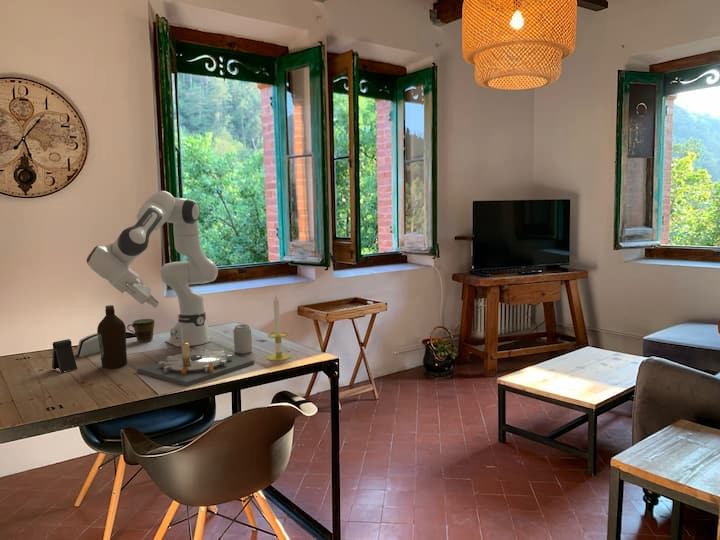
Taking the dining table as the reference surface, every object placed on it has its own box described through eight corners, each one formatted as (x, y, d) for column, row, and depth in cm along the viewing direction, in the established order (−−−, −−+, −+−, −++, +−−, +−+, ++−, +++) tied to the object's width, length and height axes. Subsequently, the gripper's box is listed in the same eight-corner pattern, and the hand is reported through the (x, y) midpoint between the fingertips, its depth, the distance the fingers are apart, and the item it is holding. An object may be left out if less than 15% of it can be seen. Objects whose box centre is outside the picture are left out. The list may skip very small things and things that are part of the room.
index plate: (137, 372, 215) (136, 358, 215) (204, 353, 241) (203, 341, 240) (186, 386, 196) (185, 371, 195) (254, 363, 221) (253, 350, 221)
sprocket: (145, 367, 215) (143, 339, 214) (203, 351, 237) (202, 326, 236) (187, 378, 199) (185, 348, 198) (245, 360, 221) (244, 333, 220)
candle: (294, 354, 233) (291, 292, 230) (285, 361, 224) (282, 296, 220) (273, 353, 236) (270, 292, 233) (263, 360, 226) (259, 295, 223)
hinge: (106, 347, 258) (109, 328, 255) (113, 351, 256) (116, 332, 253) (73, 356, 243) (76, 336, 240) (80, 360, 241) (83, 340, 238)
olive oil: (128, 360, 233) (123, 302, 230) (129, 367, 223) (124, 306, 220) (100, 364, 228) (95, 305, 225) (100, 371, 219) (94, 309, 216)
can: (254, 350, 243) (252, 323, 242) (249, 354, 236) (247, 327, 235) (237, 350, 244) (236, 323, 243) (232, 354, 237) (230, 327, 235)
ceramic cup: (150, 337, 275) (149, 317, 274) (159, 340, 268) (157, 320, 267) (124, 342, 266) (122, 322, 265) (132, 345, 259) (131, 325, 258)
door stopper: (77, 369, 222) (74, 340, 221) (62, 373, 217) (59, 343, 216) (67, 366, 227) (64, 337, 226) (51, 369, 223) (49, 340, 221)
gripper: (130, 278, 193) (162, 303, 197) (135, 272, 212) (164, 295, 216) (118, 291, 192) (150, 316, 196) (123, 284, 211) (152, 307, 215)
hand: (157, 305), depth 206 cm, fingers open, 3 cm apart
